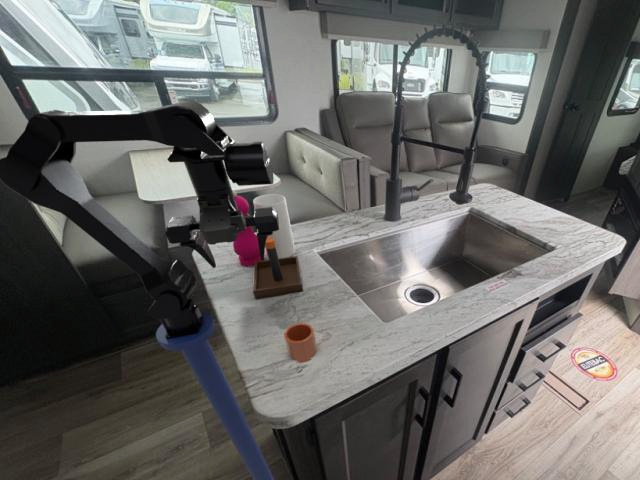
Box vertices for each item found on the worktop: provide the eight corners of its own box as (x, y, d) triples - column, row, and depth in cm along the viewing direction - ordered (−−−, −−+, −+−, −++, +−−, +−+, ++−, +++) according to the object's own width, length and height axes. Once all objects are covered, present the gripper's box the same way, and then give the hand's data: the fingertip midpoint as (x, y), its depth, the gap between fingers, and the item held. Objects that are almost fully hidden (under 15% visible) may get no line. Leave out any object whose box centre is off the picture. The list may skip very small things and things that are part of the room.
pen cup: (290, 365, 61) (284, 345, 58) (288, 345, 65) (283, 326, 62) (318, 359, 63) (315, 339, 59) (315, 340, 67) (312, 320, 64)
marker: (273, 281, 83) (263, 242, 76) (273, 277, 84) (263, 238, 77) (283, 280, 83) (274, 241, 76) (283, 275, 85) (274, 237, 78)
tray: (255, 299, 77) (252, 291, 76) (256, 269, 88) (254, 261, 86) (303, 291, 80) (301, 284, 79) (299, 263, 91) (297, 255, 89)
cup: (270, 245, 98) (257, 194, 89) (297, 245, 99) (288, 193, 89) (263, 259, 92) (249, 205, 82) (292, 258, 93) (281, 205, 83)
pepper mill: (232, 264, 90) (208, 192, 77) (251, 252, 95) (231, 184, 83) (253, 269, 87) (231, 197, 75) (270, 257, 93) (253, 188, 81)
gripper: (136, 209, 48) (180, 293, 57) (268, 197, 52) (288, 276, 62) (156, 185, 56) (191, 262, 66) (268, 176, 61) (286, 249, 70)
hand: (239, 263), depth 66 cm, fingers open, 9 cm apart
